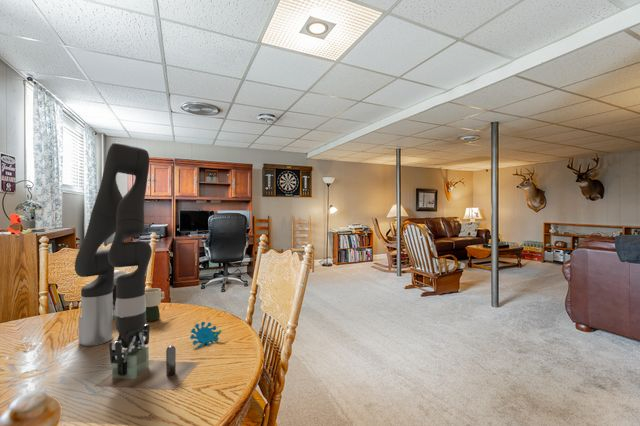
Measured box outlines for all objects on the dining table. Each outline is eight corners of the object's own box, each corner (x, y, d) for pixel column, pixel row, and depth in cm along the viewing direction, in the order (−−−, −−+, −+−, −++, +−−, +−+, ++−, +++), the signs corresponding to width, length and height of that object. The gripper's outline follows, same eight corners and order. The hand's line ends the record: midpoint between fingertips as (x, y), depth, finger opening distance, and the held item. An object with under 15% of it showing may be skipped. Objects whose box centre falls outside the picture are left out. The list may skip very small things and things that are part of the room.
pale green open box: (112, 378, 85) (112, 356, 85) (128, 366, 91) (128, 346, 91) (134, 379, 85) (134, 357, 84) (148, 367, 91) (148, 347, 91)
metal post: (164, 376, 86) (164, 347, 86) (169, 371, 88) (169, 343, 88) (172, 376, 86) (172, 348, 86) (177, 372, 88) (177, 344, 88)
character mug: (160, 314, 138) (160, 286, 138) (168, 318, 134) (168, 288, 133) (134, 322, 129) (134, 291, 129) (142, 326, 125) (142, 294, 125)
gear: (193, 349, 101) (189, 321, 107) (187, 357, 104) (184, 330, 110) (225, 344, 108) (220, 319, 114) (218, 352, 111) (214, 327, 117)
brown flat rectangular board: (95, 390, 81) (95, 385, 81) (131, 363, 95) (131, 359, 95) (174, 394, 80) (174, 389, 80) (199, 366, 94) (199, 362, 94)
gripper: (135, 302, 95) (135, 355, 95) (98, 319, 81) (99, 382, 81) (158, 303, 95) (158, 356, 95) (125, 320, 80) (125, 383, 80)
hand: (131, 368), depth 88 cm, fingers closed on pale green open box, 6 cm apart
